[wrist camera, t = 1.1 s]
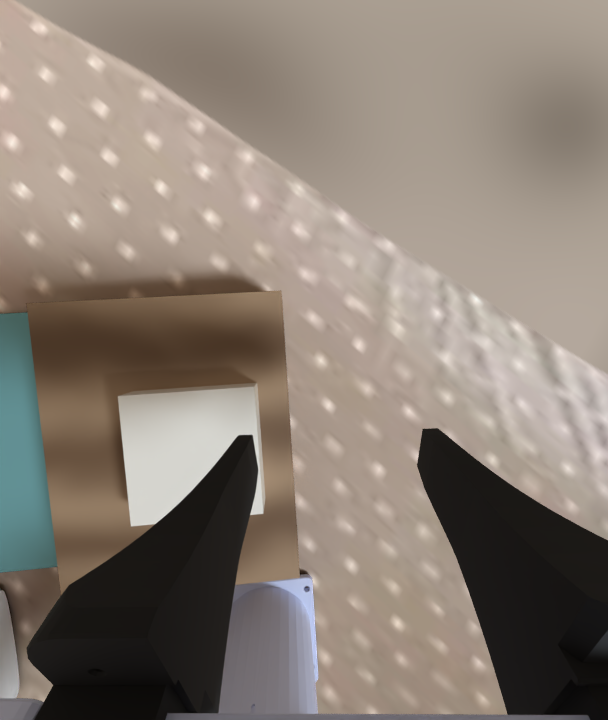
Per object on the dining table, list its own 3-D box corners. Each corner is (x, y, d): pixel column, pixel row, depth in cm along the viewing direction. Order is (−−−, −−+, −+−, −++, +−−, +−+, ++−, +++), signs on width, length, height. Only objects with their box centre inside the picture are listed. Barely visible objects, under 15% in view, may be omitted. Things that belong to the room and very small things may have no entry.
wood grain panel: (297, 538, 24) (299, 577, 20) (101, 558, 23) (62, 604, 19) (282, 300, 23) (281, 290, 19) (74, 310, 22) (26, 303, 18)
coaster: (265, 498, 19) (263, 513, 18) (145, 509, 19) (130, 526, 17) (257, 382, 19) (254, 386, 17) (134, 391, 18) (117, 396, 17)
